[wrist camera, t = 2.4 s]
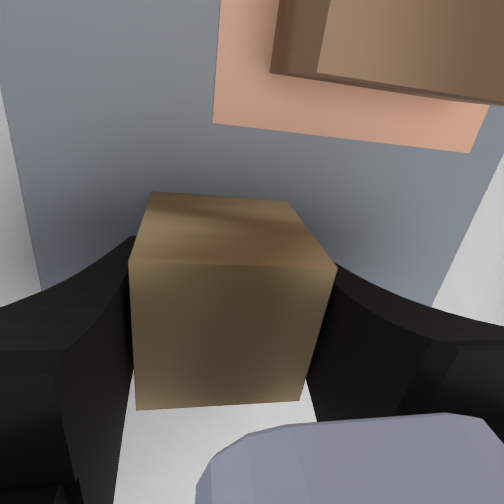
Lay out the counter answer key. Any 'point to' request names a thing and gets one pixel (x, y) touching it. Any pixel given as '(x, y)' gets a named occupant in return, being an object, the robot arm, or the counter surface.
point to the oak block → (224, 301)
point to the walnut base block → (396, 46)
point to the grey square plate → (228, 137)
